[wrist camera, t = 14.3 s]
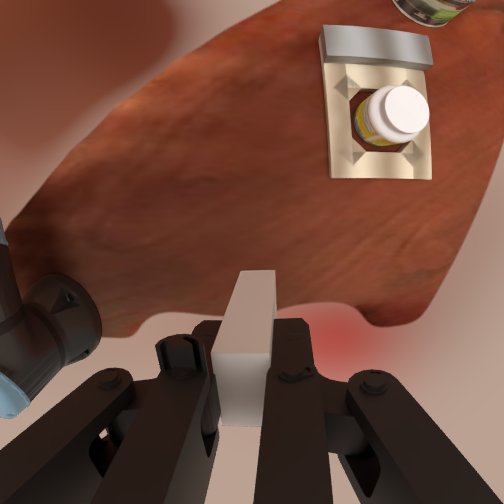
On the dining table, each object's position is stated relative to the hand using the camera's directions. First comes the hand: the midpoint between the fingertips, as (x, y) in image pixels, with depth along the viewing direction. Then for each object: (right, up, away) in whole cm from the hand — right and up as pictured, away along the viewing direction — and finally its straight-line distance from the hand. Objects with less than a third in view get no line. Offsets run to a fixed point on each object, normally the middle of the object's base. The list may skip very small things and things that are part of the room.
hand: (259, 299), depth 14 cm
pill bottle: (+15, +18, +21) cm, 32 cm away
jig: (+15, +20, +21) cm, 32 cm away
